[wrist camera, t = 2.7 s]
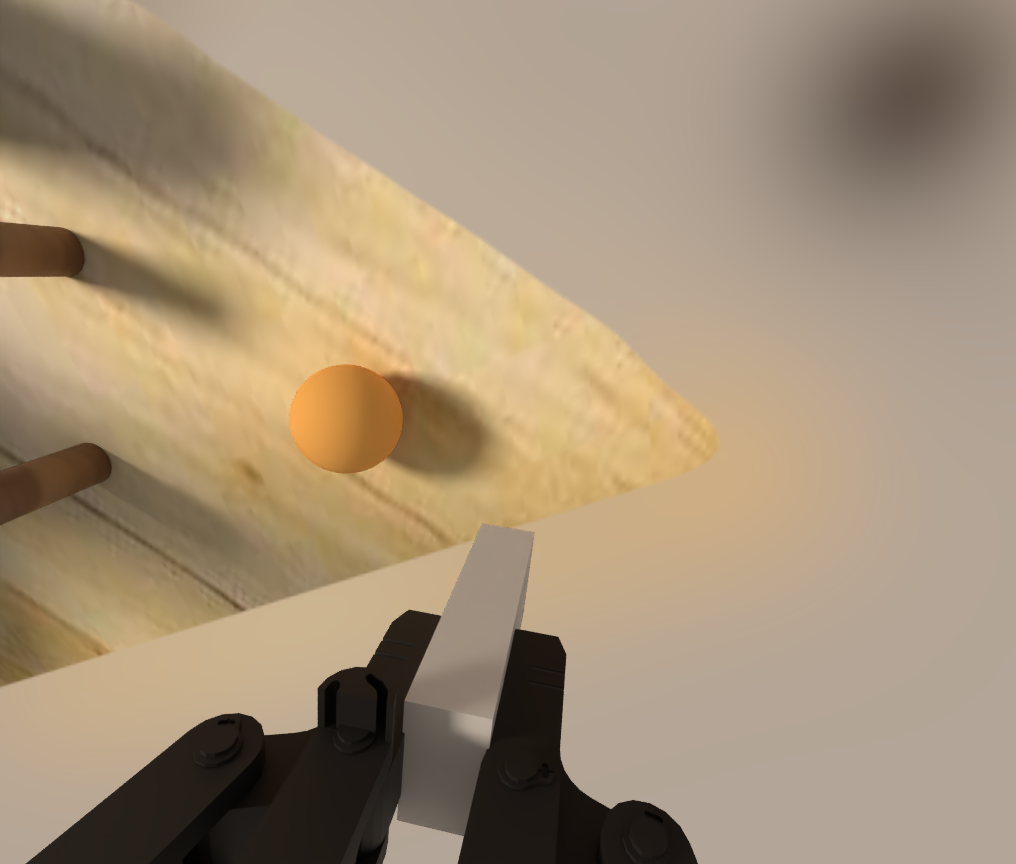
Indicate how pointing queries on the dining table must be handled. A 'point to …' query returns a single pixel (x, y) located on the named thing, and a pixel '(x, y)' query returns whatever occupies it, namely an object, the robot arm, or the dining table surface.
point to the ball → (346, 419)
